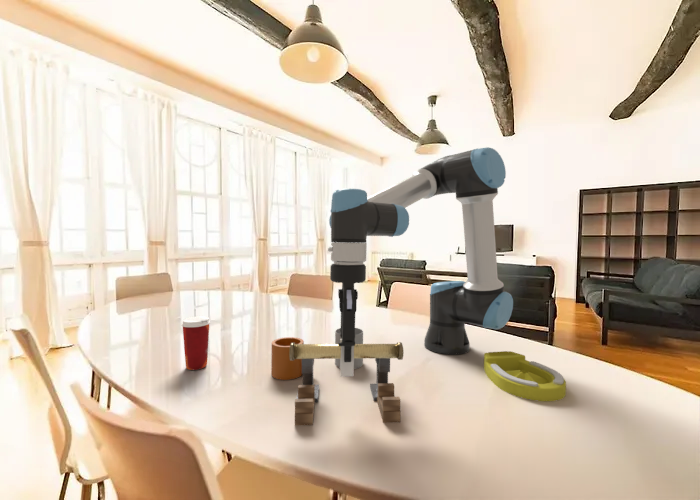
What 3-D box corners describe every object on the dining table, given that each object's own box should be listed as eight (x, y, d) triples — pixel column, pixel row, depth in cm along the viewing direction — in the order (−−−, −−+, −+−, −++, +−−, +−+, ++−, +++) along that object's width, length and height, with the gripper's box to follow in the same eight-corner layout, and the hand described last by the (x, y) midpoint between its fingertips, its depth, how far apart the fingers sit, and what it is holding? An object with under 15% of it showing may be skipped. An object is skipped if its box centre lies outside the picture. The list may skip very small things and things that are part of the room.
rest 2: (392, 403, 74) (393, 382, 73) (400, 423, 66) (400, 400, 66) (377, 403, 73) (377, 382, 73) (383, 424, 65) (383, 400, 65)
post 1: (318, 388, 81) (319, 344, 80) (317, 403, 73) (318, 355, 73) (299, 388, 80) (299, 344, 80) (295, 403, 73) (296, 355, 73)
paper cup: (216, 363, 96) (216, 317, 95) (194, 373, 89) (193, 323, 88) (198, 359, 99) (197, 314, 98) (175, 368, 92) (174, 320, 91)
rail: (399, 356, 71) (400, 340, 71) (403, 362, 67) (404, 345, 67) (291, 356, 69) (291, 340, 69) (289, 363, 66) (289, 345, 66)
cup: (360, 370, 92) (360, 336, 91) (332, 368, 93) (332, 334, 93) (364, 359, 100) (364, 328, 100) (339, 357, 102) (339, 326, 101)
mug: (302, 385, 82) (302, 350, 82) (264, 376, 87) (264, 344, 87) (319, 371, 91) (319, 340, 90) (283, 364, 95) (283, 335, 95)
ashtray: (521, 366, 96) (522, 350, 96) (582, 401, 76) (583, 380, 76) (471, 370, 94) (472, 353, 93) (521, 407, 73) (521, 385, 73)
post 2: (389, 386, 82) (389, 343, 81) (395, 401, 75) (395, 354, 74) (369, 387, 82) (370, 343, 81) (373, 401, 74) (374, 354, 74)
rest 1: (314, 405, 73) (314, 384, 72) (312, 425, 65) (312, 402, 64) (298, 405, 72) (298, 384, 72) (294, 426, 64) (294, 402, 64)
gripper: (330, 260, 75) (329, 358, 76) (330, 266, 59) (328, 389, 60) (362, 260, 76) (360, 357, 77) (370, 266, 60) (368, 389, 61)
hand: (346, 371), depth 69 cm, fingers closed on rail, 3 cm apart
